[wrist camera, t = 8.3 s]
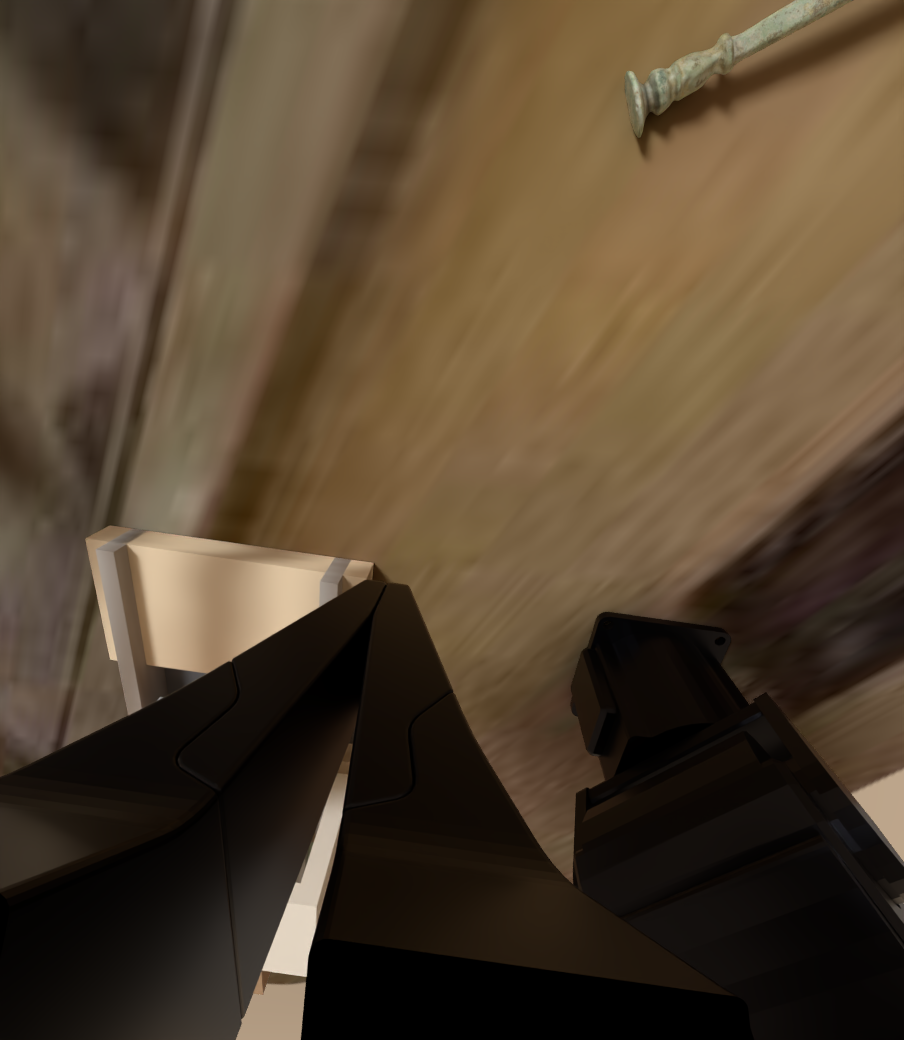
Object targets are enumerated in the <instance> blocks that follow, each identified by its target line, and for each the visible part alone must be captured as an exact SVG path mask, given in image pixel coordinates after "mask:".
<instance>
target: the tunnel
mask: <svg viewBox="0 0 904 1040" xmlns="http://www.w3.org/2000/svg"><path fill="white" fill-rule="evenodd" d="M347 778H348V774H341V773H337V776H336V778H335V781H334V783H333V786H332V789H331V791H330V794H329V797H328V800H327V803H326V806H325V809H324V812H323V815H322V818H321V822H320V825H319V828H318V831H317V834H316V837H315V840H314V843H313V846H312V849H311V853H310V856H309V859H308V862H307V865H306V868H305V871H304V874H303V877H302V881H301V883H295V885H294V888H293V891H292V893H291V896H290V898H289V901H288V904H287V906H286V909H285V911H284V914H283V917H282V919H281V922H280V924H279V927H278V930H277V932H276V935H275V938H274V940H273V943H272V945H271V948H270V951H269V953H268V956H267V958H266V961H265V964H264V966H263V969H262V971H269V972H276V973H284V974H291V975H298V976H305V977H306V976H307V965H308V955H309V952H310V948H311V944H312V940H313V937H314V933H315V929H316V926H317V922H318V918H319V915H320V911H321V907H322V903H323V900H324V896H325V892H326V889H327V885H328V881H329V878H330V874H331V870H332V866H333V862H334V857H335V852H336V847H337V841H338V835H339V830H340V823H341V818H342V810H343V804H344V797H345V791H346V784H347Z"/></svg>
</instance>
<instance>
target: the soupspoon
mask: <svg viewBox="0 0 904 1040" xmlns="http://www.w3.org/2000/svg"><path fill="white" fill-rule="evenodd" d="M851 1H853V0H795V1H793V2H792V3H790V4H788V5H786V6H785V7H783V8H781V9H780V10H778V11H776V12H775V13H773V14H772V15H770V16H768V17H767V18H765V19H763V20H762V21H761V22H759V23H757V24H756V25H754V26H753V27H751V28H749V29H748V30H746V31H745V32H743V33H741V34H739V35H736V36H730V35H729V34H728V33H725V34H723V35H722V36H721V37H720V38H719V39H718V42H717V44H716V45H715V46H714V47H712V48H711V49H709V50H705V51H701V52H693V53H690V54H688V55H686V56H684V57H682V58H680V59H678V60H677V61H675V62H674V63H673V64H672V65H671V66H670V68H667V69H664V68H659V69H655V70H653V71H652V72H651V73H650V75H649V76H648V78H647V81H646V82H645V83H644V84H641V83H640V82H639V81H638V79H637V78H636V76H635V74H634V73H633V72H632V71H628V72H626V75H625V94H626V100H627V104H628V109H629V116H630V121H631V124H632V127H633V130H634V132H635V135H636V136H637V137H638V138H640V137H641V135H642V132H643V127H644V122H645V118H646V117H647V115H648V114H649V113H650V112H653V113H654V114H655V115H660V114H661V113H663V112H664V111H665V110H666V109H667V108H668V107H669V106H670V104H671V103H672V102H673V101H674V100H676V101H679V100H681V99H682V98H684V97H686V96H688V95H690V94H692V93H693V92H695V91H697V90H698V89H699V88H701V87H702V86H703V85H704V84H705V82H706V81H707V80H708V79H709V78H710V77H711V76H712V75H713V74H722V75H725V74H727V73H729V72H730V71H731V70H732V69H733V67H734V65H735V64H737V63H738V62H740V61H741V60H743V59H744V58H747V57H749V56H751V55H752V54H754V53H756V52H758V51H760V50H762V49H764V48H766V47H767V46H769V45H771V44H773V43H775V42H777V41H779V40H781V39H783V38H784V37H786V36H788V35H790V34H792V33H794V32H796V31H797V30H799V29H801V28H803V27H805V26H807V25H809V24H811V23H812V22H814V21H816V20H818V19H820V18H822V17H823V16H825V15H827V14H829V13H831V12H833V11H835V10H836V9H838V8H840V7H842V6H843V5H845V4H847V3H849V2H851Z"/></svg>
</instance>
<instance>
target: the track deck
mask: <svg viewBox="0 0 904 1040" xmlns="http://www.w3.org/2000/svg"><path fill="white" fill-rule="evenodd" d="M85 539H86V544H87V549H88V554H89V559H90V564H91V568H92V573H93V578H94V583H95V588H96V593H97V598H98V603H99V607H100V612H101V617H102V622H103V627H104V632H105V637H106V641H107V646H108V651H109V656H110V660H116V661H118V666H119V671H120V676H121V681H122V686H123V691H124V696H125V701H126V706H127V711H128V715H130V714H132V713H134V712H136V711H138V710H140V709H142V708H144V707H146V706H148V705H150V704H152V703H154V702H156V701H157V700H158V699H159V697H165V696H167V695H169V694H171V693H173V692H175V691H177V690H179V689H180V688H182V687H184V686H186V685H188V684H189V683H191V682H193V681H195V680H196V679H198V678H200V677H202V676H203V675H205V674H207V673H209V672H210V671H212V670H214V669H215V668H217V667H219V666H221V665H222V664H224V663H226V662H227V661H231V662H232V659H233V658H234V657H236V656H238V655H239V654H241V653H243V652H244V651H246V650H248V649H249V648H251V647H253V646H254V645H256V644H258V643H260V642H261V641H263V640H265V639H266V638H268V637H270V636H271V635H273V634H275V633H276V632H278V631H280V630H281V629H283V628H285V627H286V626H288V625H290V624H291V623H293V622H295V621H296V620H298V619H300V618H302V617H303V616H305V615H307V614H308V613H310V612H312V611H313V610H315V609H317V608H318V607H320V606H322V605H323V604H325V603H327V602H328V601H330V600H332V599H333V598H335V597H337V596H338V595H340V594H342V593H344V592H345V591H347V590H349V589H350V588H352V587H354V586H355V585H357V584H359V583H360V582H362V581H364V580H366V579H370V580H372V578H373V564H374V563H370V562H363V561H356V560H349V559H342V558H335V557H328V556H321V555H314V554H307V553H300V552H293V551H286V550H279V549H272V548H265V547H258V546H251V545H244V544H237V543H230V542H223V541H216V540H209V539H202V538H195V537H188V536H181V535H174V534H167V533H160V532H153V531H146V530H139V529H131V528H124V527H117V526H108V527H106V528H104V529H102V530H100V531H98V532H96V533H95V534H93V535H91V536H89V537H87V538H85ZM354 732H355V729H354V731H353V734H352V736H351V739H350V742H349V744H348V747H347V750H346V752H345V755H344V757H343V760H342V763H341V765H340V768H339V770H338V773H341V774H348V771H349V765H350V758H351V752H352V745H353V739H354ZM327 800H328V799H327ZM326 803H327V802H326ZM325 806H326V804H325ZM324 809H325V807H324ZM323 812H324V810H323ZM323 812H322V815H323ZM322 815H321V817H320V820H319V823H318V825H317V828H316V830H315V833H314V836H313V838H312V841H311V844H310V846H309V849H308V859H309V856H310V853H311V849H312V846H313V843H314V840H315V837H316V834H317V831H318V828H319V825H320V822H321V818H322Z"/></svg>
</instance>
